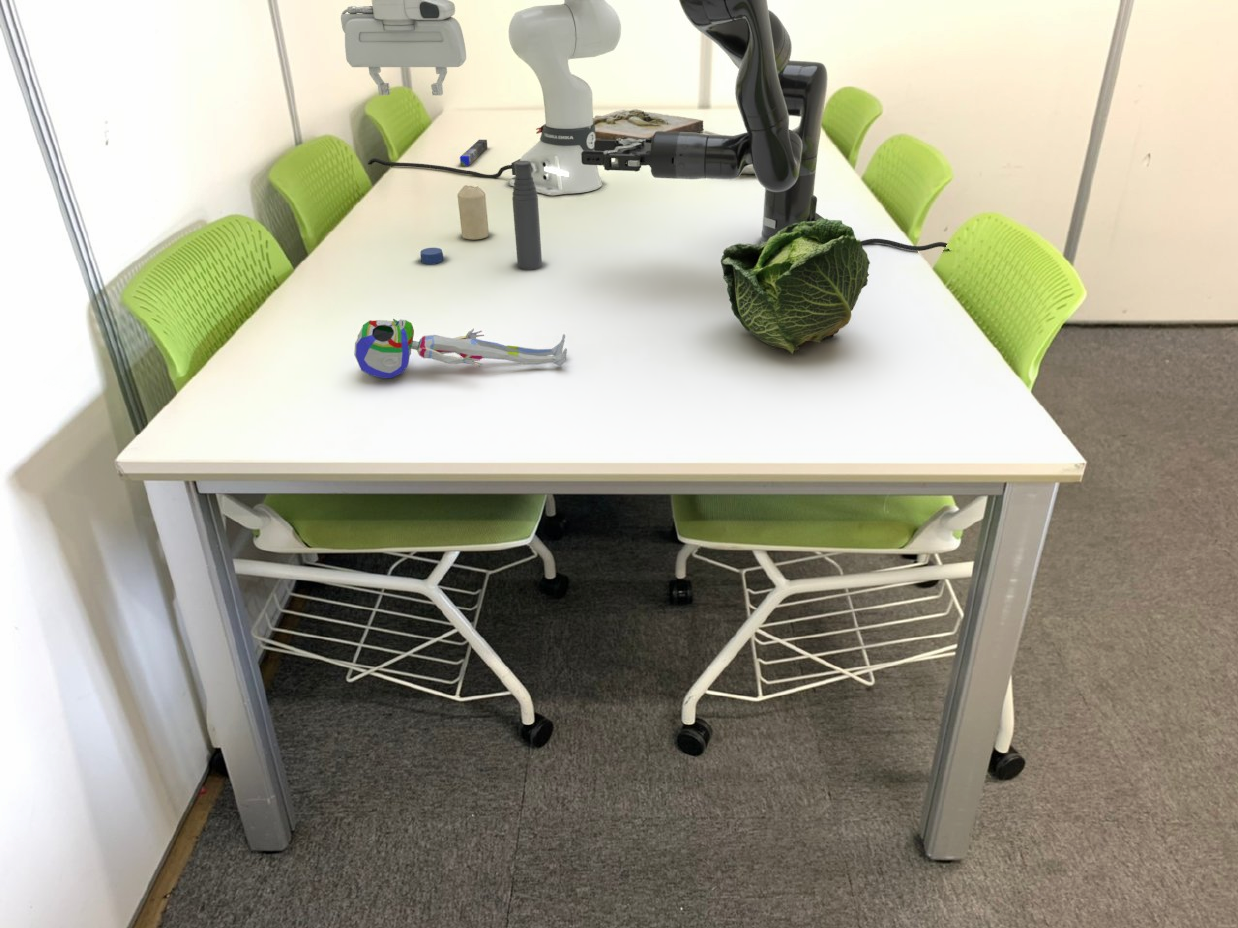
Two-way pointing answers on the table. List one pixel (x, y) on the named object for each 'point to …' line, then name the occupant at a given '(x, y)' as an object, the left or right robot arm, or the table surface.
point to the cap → (431, 255)
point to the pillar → (473, 152)
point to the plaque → (641, 124)
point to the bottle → (526, 218)
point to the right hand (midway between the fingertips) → (588, 151)
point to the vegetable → (797, 282)
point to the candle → (473, 212)
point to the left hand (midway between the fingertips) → (411, 95)
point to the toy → (435, 349)
